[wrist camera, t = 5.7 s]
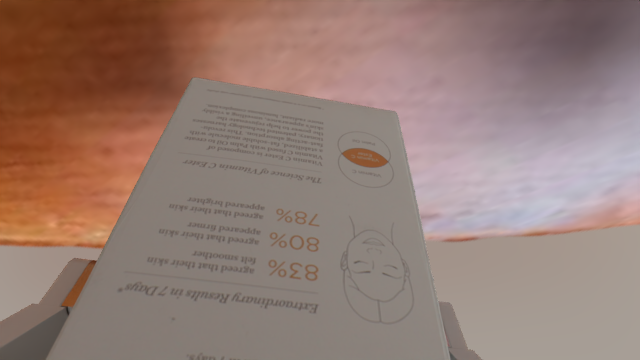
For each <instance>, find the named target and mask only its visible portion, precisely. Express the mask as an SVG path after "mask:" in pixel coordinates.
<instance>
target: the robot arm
mask: <svg viewBox="0 0 640 360" xmlns="http://www.w3.org/2000/svg"><path fill="white" fill-rule="evenodd" d="M96 262H97V261H95V260H86V259H78V258H74V259H72V260H71V261H69V262H68V264H67V265H66V267H65V268H64V269H63V271H62V272H61V273H60V275H59V276H58V278H57V279H56V280H55V282H54V283H53V285H52V286H51V287H50V289H49V290H48V292H47V293H46V294H45V296H44V297H43V298H42V300H41V301H40V303H39V304H31V305H29V306H28V307H26V308H24V309H22V310H20V311H19V312H17V313H15V314H13V315H12V316H10V317H8V318H6V319H5V320H3V321H1V322H0V360H46V358H47V356H48V354H49V352H50V350H51V348H52V347H53V345H54V343H55V341H56V339H57V337H58V335H59V333H60V331H61V329H62V327H63V325H64V324H65V322H66V320H67V318H68V316H69V314H70V312H71V310H72V308H73V306H74V304H75V302H76V301H77V299H78V297H79V295H80V293H81V291H82V289H83V287H84V285H85V283H86V281H87V279H88V277H89V275H90V274H91V272H92V270H93V268H94V266H95V264H96ZM438 303H439V307H440V312H441V317H442V321H443V326H444V331H445V336H446V340H447V345H448V350H449V354H450V359H451V360H482V359H481V358H480V357H479V356H478V355H477V354H476V353H475V352H474V351H473V350H469V349H468V348H467V345H466V342H465V340H464V337H463V334H462V331H461V329H460V326H459V323H458V320H457V318H456V315H455V312H454V309H453V307H452V305H451V304H450V303H449V302H439V301H438Z"/></svg>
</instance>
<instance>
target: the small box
mask: <svg viewBox="0 0 640 360" xmlns="http://www.w3.org/2000/svg"><path fill="white" fill-rule="evenodd" d="M46 360H451V359H450V354H449V350H448V345H447V340H446V336H445V331H444V326H443V321H442V317H441V312H440V307H439V303H438V299H437V294H436V290H435V285H434V279H433V276H432V273H431V267H430V262H429V258H428V254H427V249H426V244H425V239H424V234H423V229H422V224H421V219H420V214H419V209H418V205H417V200H416V196H415V190H414V186H413V181H412V177H411V172H410V168H409V163H408V158H407V154H406V149H405V145H404V140H403V136H402V132H401V127H400V123H399V118H398V115H397V113H396V112H395V111H390V110H383V109H377V108H371V107H366V106H360V105H354V104H349V103H343V102H337V101H331V100H326V99H320V98H314V97H308V96H303V95H297V94H291V93H285V92H279V91H273V90H267V89H261V88H255V87H249V86H243V85H237V84H231V83H226V82H220V81H214V80H208V79H202V78H196V77H195V78H192V79H191V81H190V83H189V85H188V86H187V88H186V90H185V92H184V94H183V96H182V98H181V100H180V102H179V104H178V106H177V108H176V110H175V112H174V113H173V115H172V117H171V119H170V121H169V122H168V124H167V126H166V128H165V130H164V132H163V134H162V135H161V137H160V139H159V141H158V143H157V145H156V146H155V148H154V150H153V152H152V154H151V156H150V158H149V160H148V162H147V164H146V166H145V168H144V170H143V172H142V174H141V176H140V178H139V179H138V181H137V183H136V185H135V187H134V189H133V191H132V193H131V195H130V197H129V199H128V201H127V203H126V205H125V207H124V209H123V211H122V213H121V215H120V217H119V219H118V221H117V223H116V225H115V227H114V228H113V230H112V232H111V234H110V236H109V238H108V240H107V242H106V244H105V246H104V248H103V250H102V252H101V254H100V256H99V258H98V260H97V262H96V264H95V266H94V268H93V270H92V272H91V274H90V275H89V277H88V279H87V281H86V283H85V285H84V287H83V289H82V291H81V293H80V295H79V297H78V299H77V301H76V302H75V304H74V306H73V308H72V310H71V312H70V314H69V316H68V318H67V320H66V322H65V324H64V325H63V327H62V329H61V331H60V333H59V335H58V337H57V339H56V341H55V343H54V345H53V347H52V348H51V350H50V352H49V354H48V356H47V358H46Z"/></svg>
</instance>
